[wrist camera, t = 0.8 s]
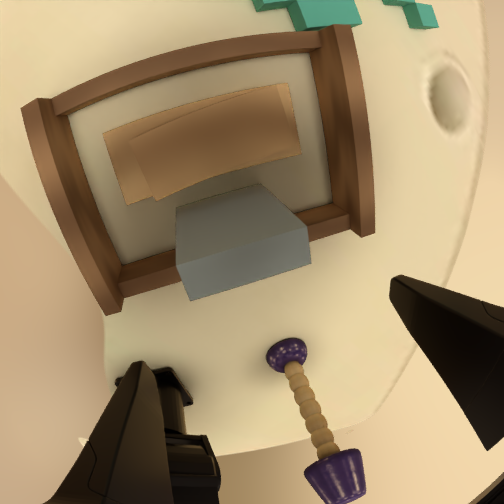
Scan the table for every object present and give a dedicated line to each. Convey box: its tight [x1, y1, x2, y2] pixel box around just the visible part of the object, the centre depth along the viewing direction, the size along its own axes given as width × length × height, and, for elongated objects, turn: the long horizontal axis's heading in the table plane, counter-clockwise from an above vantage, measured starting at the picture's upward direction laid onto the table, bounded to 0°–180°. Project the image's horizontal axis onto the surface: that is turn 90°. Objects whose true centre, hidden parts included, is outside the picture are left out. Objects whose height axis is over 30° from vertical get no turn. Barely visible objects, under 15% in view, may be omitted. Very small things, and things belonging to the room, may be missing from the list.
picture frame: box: [21, 24, 375, 316], centre depth 16 cm, size 14×19×4 cm
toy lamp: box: [266, 339, 366, 504], centre depth 21 cm, size 5×5×17 cm
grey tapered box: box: [176, 183, 311, 301], centre depth 17 cm, size 2×6×8 cm, turn 102°
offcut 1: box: [103, 83, 301, 205], centre depth 18 cm, size 5×12×2 cm, turn 102°
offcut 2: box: [129, 85, 295, 201], centre depth 16 cm, size 4×9×2 cm, turn 108°
